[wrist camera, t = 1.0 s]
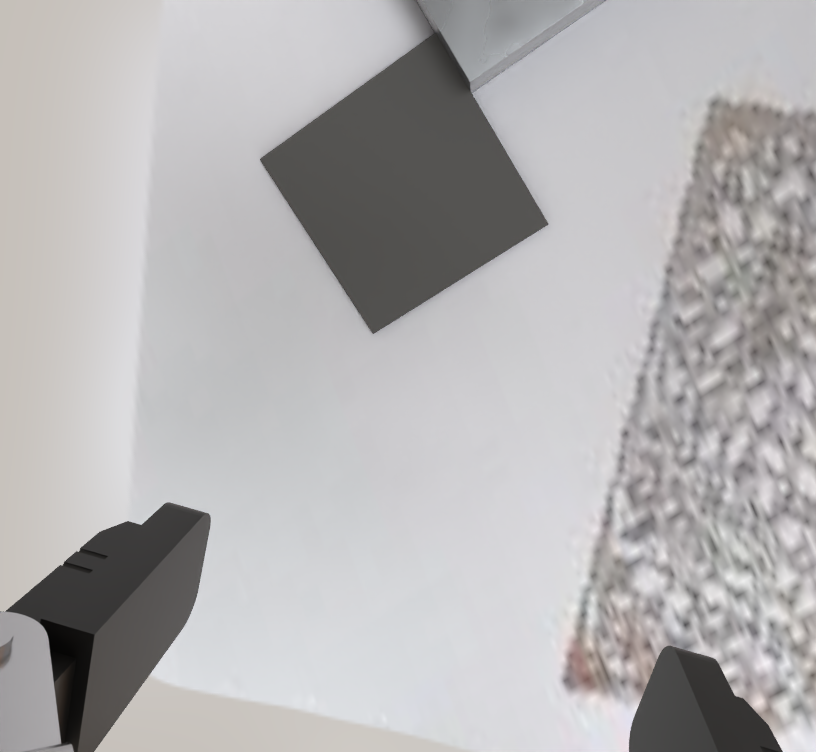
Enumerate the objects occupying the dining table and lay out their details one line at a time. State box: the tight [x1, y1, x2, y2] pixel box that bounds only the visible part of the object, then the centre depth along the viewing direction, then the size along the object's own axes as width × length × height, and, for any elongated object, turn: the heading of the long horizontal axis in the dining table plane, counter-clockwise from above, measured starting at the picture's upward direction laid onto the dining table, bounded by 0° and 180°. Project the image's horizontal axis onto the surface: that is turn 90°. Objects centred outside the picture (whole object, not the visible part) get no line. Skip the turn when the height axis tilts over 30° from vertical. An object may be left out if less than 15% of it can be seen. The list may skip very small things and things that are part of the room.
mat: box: [260, 33, 548, 334], centre depth 33 cm, size 10×10×1 cm
